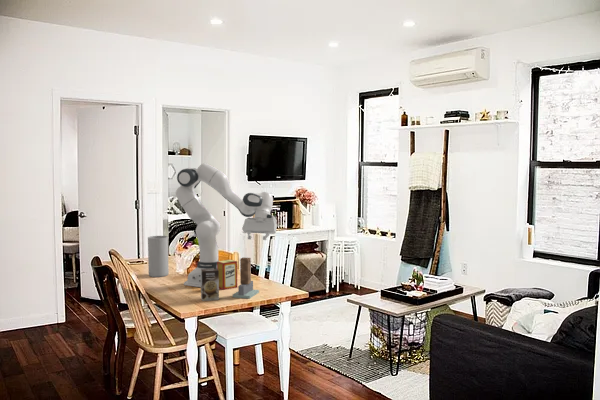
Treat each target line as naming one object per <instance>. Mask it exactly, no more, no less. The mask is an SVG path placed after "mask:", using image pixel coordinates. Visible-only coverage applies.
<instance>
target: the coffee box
mask: <svg viewBox="0 0 600 400" xmlns="http://www.w3.org/2000/svg"><path fill="white" fill-rule="evenodd" d="M200 298H201V301H202V302H205V301H207V302H208V301H219V300H220V289H219V270H218V269H201V287H200Z"/></svg>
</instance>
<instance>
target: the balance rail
mask: <svg viewBox="0 0 600 400" xmlns="http://www.w3.org/2000/svg"><path fill="white" fill-rule="evenodd" d="M237 289H238V290H237V291H236V292H234V293H232V298H235V299H237V298H238V299H249V300H250V299H252V298H253V297H254V296H256V295H257V294H259V293H260V289H254V280H251V283H250V284H241V283H240V285H237Z"/></svg>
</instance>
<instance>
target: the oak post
mask: <svg viewBox="0 0 600 400" xmlns="http://www.w3.org/2000/svg"><path fill="white" fill-rule="evenodd" d="M239 260H240V262H239V264H240V265H239V267H240V268H239V269H240V270H239V271H240V272H239V273H240V285H241V284H250V283H251V281H252V275H251V274H252V273H251V272H252V271H251V269H252V265H251V264H252V263H251V262H252V261H251V257H242V258H241V257H240V259H239Z"/></svg>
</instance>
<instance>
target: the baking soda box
mask: <svg viewBox="0 0 600 400" xmlns="http://www.w3.org/2000/svg"><path fill="white" fill-rule="evenodd" d="M217 269H218V270H219V290H222V291H224V290H231V289H236V288H237V289H238V261H237V260H234V259H225V260H219V261H217Z"/></svg>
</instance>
